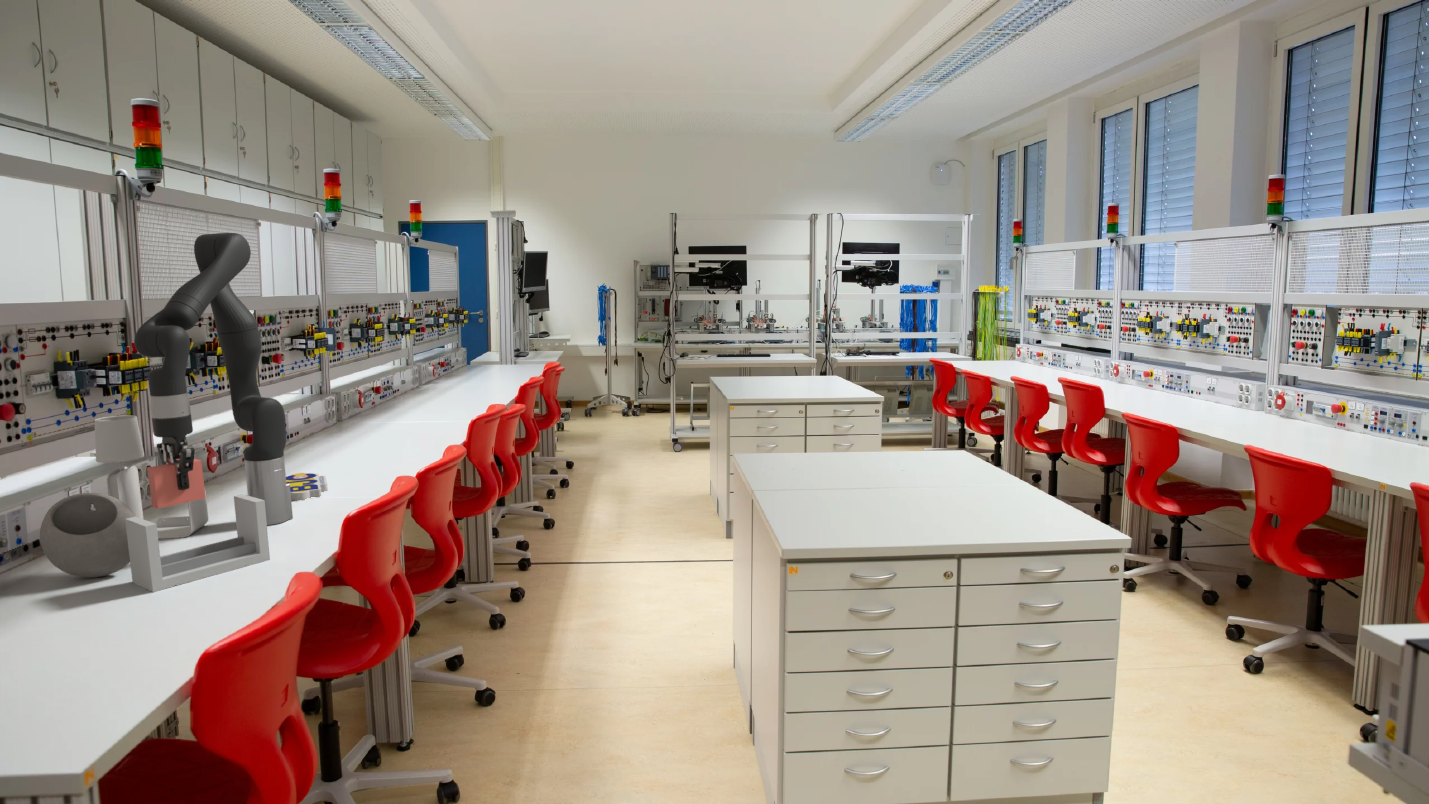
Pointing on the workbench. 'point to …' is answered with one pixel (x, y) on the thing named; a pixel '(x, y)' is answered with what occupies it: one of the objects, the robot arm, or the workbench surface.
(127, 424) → the wall lamp
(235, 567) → the u-shaped grey holder
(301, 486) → the sign
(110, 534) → the planter
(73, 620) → the workbench surface
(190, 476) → the red rectangular block
